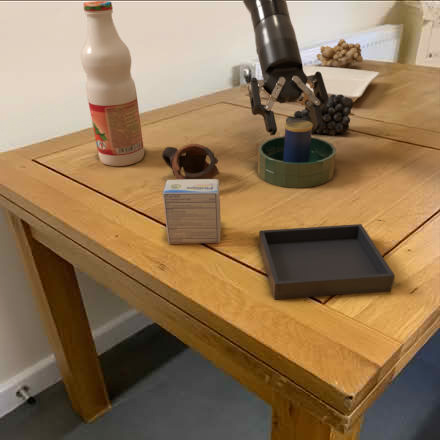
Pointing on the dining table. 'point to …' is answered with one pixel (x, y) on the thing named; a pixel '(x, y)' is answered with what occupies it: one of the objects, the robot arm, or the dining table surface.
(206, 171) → the pottery mug
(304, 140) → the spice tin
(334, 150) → the bowl
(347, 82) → the square plate
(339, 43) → the mineral formation
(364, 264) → the tray
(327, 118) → the fruit
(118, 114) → the fruit juice
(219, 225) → the medicine box
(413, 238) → the dining table surface
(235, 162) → the dining table surface
